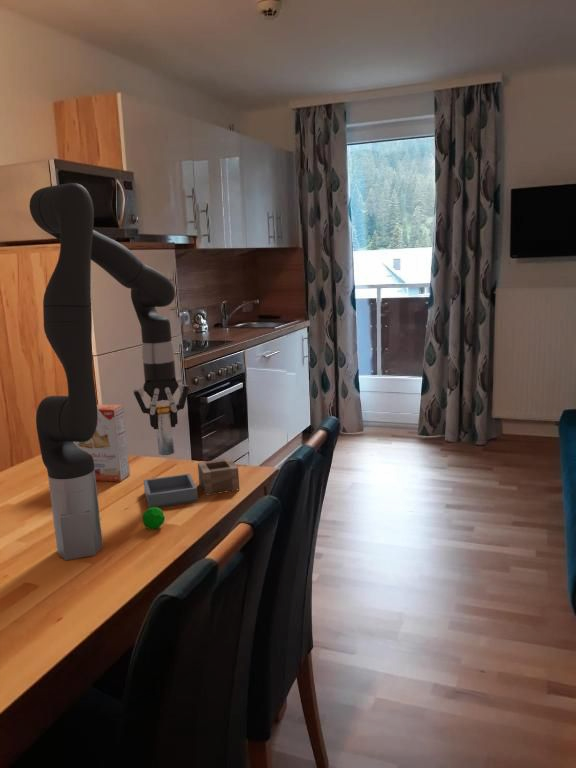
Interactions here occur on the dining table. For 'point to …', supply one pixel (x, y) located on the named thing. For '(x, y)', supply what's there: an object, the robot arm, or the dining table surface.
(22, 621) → the dining table surface
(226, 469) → the wooden crate
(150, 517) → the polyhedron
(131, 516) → the dining table surface
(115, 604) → the dining table surface
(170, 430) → the gold capped jar
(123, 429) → the cracker box
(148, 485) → the slate tray
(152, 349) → the robot arm
